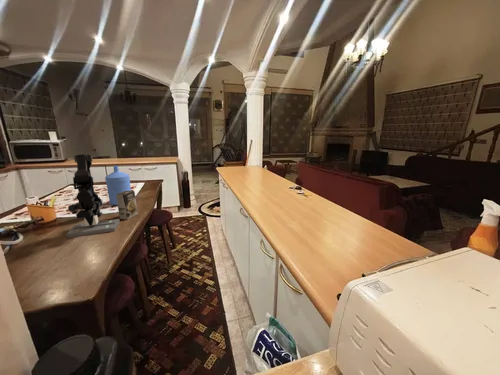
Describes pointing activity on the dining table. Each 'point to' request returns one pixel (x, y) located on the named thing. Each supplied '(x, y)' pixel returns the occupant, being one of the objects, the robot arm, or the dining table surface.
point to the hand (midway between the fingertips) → (92, 223)
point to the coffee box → (126, 204)
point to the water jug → (117, 184)
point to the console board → (93, 228)
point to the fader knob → (93, 221)
